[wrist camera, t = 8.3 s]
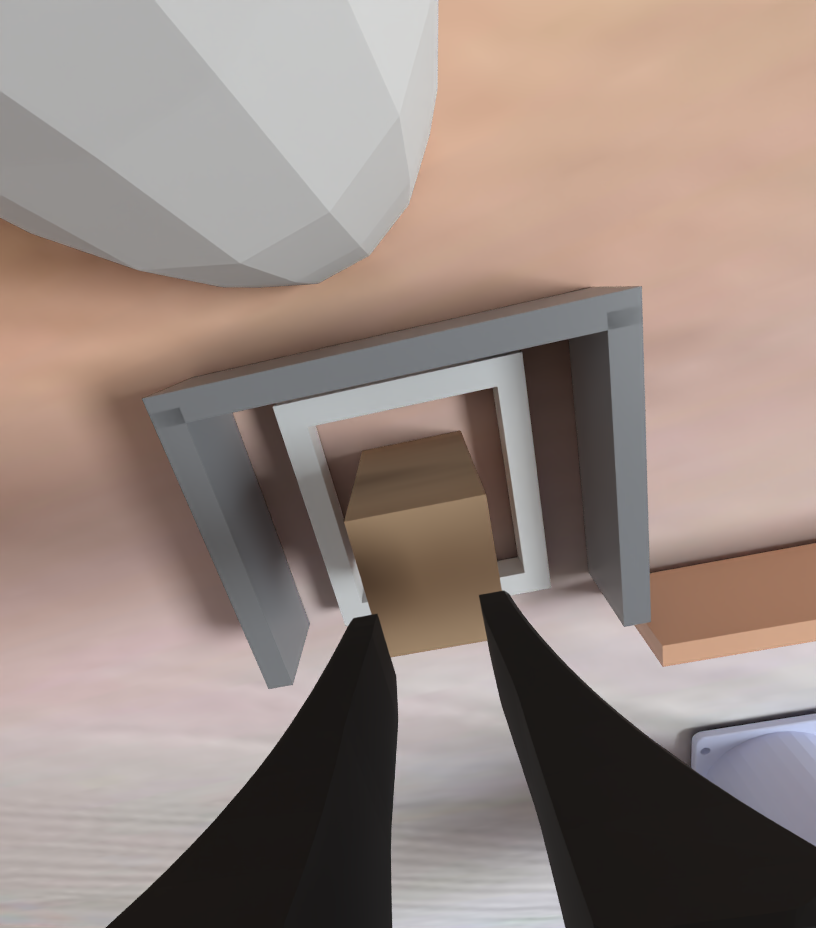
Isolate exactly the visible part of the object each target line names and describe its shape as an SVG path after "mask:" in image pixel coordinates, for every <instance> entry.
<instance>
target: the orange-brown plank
mask: <svg viewBox="0 0 816 928" xmlns="http://www.w3.org/2000/svg"><path fill="white" fill-rule="evenodd" d="M650 602H651V622H649V623H643V624H637V625H635V627H636V628H637V630H638V631H639V633H640V634H641V636H642V637H643V638H644V640H645V641H646V643H647V644H648V646H649V647H650V649H651V650H652V652H653V653H654V654H655V656H656V657H657V659H658V660H659V662H660V663H661V665H662V666H663V667H664V666H670V665H676V664H682V663H688V662H694V661H700V660H706V659H712V658H718V657H724V656H730V655H736V654H742V653H747V652H753V651H759V650H765V649H771V648H777V647H783V646H789V645H795V644H801V643H807V642H813V641H816V543H813V544H808V545H802V546H797V547H791V548H786V549H780V550H775V551H769V552H764V553H758V554H753V555H748V556H742V557H737V558H731V559H726V560H720V561H715V562H709V563H704V564H698V565H693V566H687V567H682V568H676V569H671V570H665V571H660V572H654V573H650Z"/></svg>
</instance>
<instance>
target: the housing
mask: <svg viewBox="0 0 816 928" xmlns="http://www.w3.org/2000/svg"><path fill="white" fill-rule="evenodd" d="M566 339H569V349H570V360H571V372H572V384H573V395H574V407H575V419H576V430H577V442H578V454H579V465H580V477H581V489H582V500H583V512H584V524H585V535H586V547H587V559H588V570H589V574H590V575H591V577H592V578H593V580H594V581H595V583H596V584H597V586H598V588H599V589H600V591H601V592H602V594H603V595H604V597H605V598H606V600H607V601H608V603H609V604H610V606H611V607H612V609H613V610H614V612H615V614H616V615H617V617H618V618H619V620H620V621H621V623H622V624H623V626H624V627H626V626H631V625H637V624H643V623H649V622H651V602H650V567H649V531H648V495H647V459H646V424H645V388H644V352H643V317H642V286H625V287H590V288H586V289H582V290H577V291H573V292H568V293H564V294H559V295H555V296H551V297H546V298H542V299H537V300H533V301H529V302H524V303H520V304H515V305H511V306H506V307H502V308H498V309H493V310H489V311H484V312H480V313H476V314H471V315H467V316H462V317H458V318H453V319H449V320H445V321H440V322H436V323H431V324H427V325H423V326H418V327H414V328H409V329H405V330H400V331H396V332H392V333H387V334H383V335H378V336H374V337H370V338H365V339H361V340H356V341H352V342H347V343H343V344H339V345H334V346H330V347H325V348H321V349H317V350H312V351H308V352H303V353H299V354H294V355H290V356H286V357H281V358H277V359H272V360H268V361H264V362H259V363H255V364H250V365H246V366H242V367H237V368H233V369H228V370H224V371H219V372H215V373H211V374H206V375H202V376H197V377H193V378H190V379H188V380H185V381H183V382H181V383H178V384H176V385H173V386H171V387H169V388H166V389H164V390H162V391H159V392H157V393H154V394H152V395H150V396H147V397H145V398H142V400H143V402H144V405H145V407H146V409H147V411H148V414H149V416H150V418H151V421H152V423H153V425H154V427H155V430H156V432H157V434H158V437H159V439H160V441H161V443H162V446H163V448H164V450H165V453H166V455H167V457H168V459H169V462H170V464H171V466H172V469H173V471H174V473H175V476H176V478H177V480H178V482H179V485H180V487H181V489H182V492H183V494H184V496H185V498H186V501H187V503H188V505H189V508H190V510H191V512H192V514H193V517H194V519H195V521H196V524H197V526H198V528H199V531H200V533H201V535H202V537H203V540H204V542H205V544H206V547H207V549H208V551H209V553H210V556H211V558H212V560H213V563H214V565H215V567H216V569H217V572H218V574H219V576H220V579H221V581H222V583H223V586H224V588H225V590H226V592H227V595H228V597H229V599H230V602H231V604H232V606H233V608H234V611H235V613H236V615H237V618H238V620H239V622H240V624H241V627H242V629H243V631H244V634H245V636H246V638H247V640H248V643H249V645H250V647H251V650H252V652H253V654H254V657H255V659H256V661H257V663H258V666H259V668H260V670H261V673H262V675H263V677H264V679H265V682H266V684H267V686H268V689H272V688H277V687H283V686H289V685H293V682H294V679H295V675H296V672H297V668H298V665H299V661H300V657H301V654H302V650H303V647H304V643H305V639H306V636H307V632H308V629H309V625H310V623H309V620H308V617H307V615H306V612H305V609H304V607H303V604H302V601H301V598H300V596H299V593H298V590H297V588H296V585H295V582H294V579H293V577H292V574H291V571H290V568H289V566H288V563H287V560H286V558H285V555H284V552H283V549H282V547H281V544H280V541H279V539H278V536H277V533H276V530H275V528H274V525H273V522H272V519H271V517H270V514H269V511H268V509H267V506H266V503H265V500H264V498H263V495H262V492H261V490H260V487H259V484H258V481H257V479H256V476H255V473H254V470H253V468H252V465H251V462H250V460H249V457H248V454H247V451H246V449H245V446H244V443H243V441H242V438H241V435H240V432H239V430H238V427H237V424H236V421H235V419H234V416H233V412H238V411H242V410H247V409H251V408H256V407H261V406H265V405H270V404H274V403H276V404H275V405H274V406H273V410H274V413H275V416H276V419H277V422H278V425H279V428H280V431H281V434H282V437H283V440H284V443H285V446H286V449H287V452H288V455H289V458H290V461H291V464H292V467H293V470H294V473H295V476H296V479H297V482H298V485H299V488H300V491H301V494H302V497H303V500H304V503H305V506H306V509H307V512H308V515H309V518H310V521H311V524H312V527H313V530H314V533H315V536H316V539H317V542H318V545H319V548H320V551H321V554H322V557H323V560H324V563H325V566H326V569H327V572H328V575H329V578H330V581H331V584H332V587H333V590H334V593H335V596H336V599H337V602H338V605H339V608H340V611H341V614H342V617H343V620H344V623H345V626H347V625H349V624H350V622H351V621H352V619H353V618H356V617H362V616H367V615H371V611H370V608H369V604H368V601H367V598H366V594H365V591H364V588H363V584H362V581H361V577H360V574H359V571H358V567H357V564H356V561H355V557H354V554H353V551H352V547H351V544H350V540H349V537H348V534H347V530H346V527H345V524H344V518H343V514H342V511H341V508H340V504H339V501H338V498H337V494H336V491H335V488H334V484H333V481H332V478H331V475H330V471H329V468H328V465H327V461H326V458H325V455H324V451H323V448H322V445H321V441H320V438H319V435H318V431H317V428H316V425H320V424H325V423H330V422H334V421H339V420H344V419H348V418H353V417H358V416H362V415H367V414H372V413H376V412H381V411H386V410H390V409H395V408H400V407H404V406H409V405H414V404H418V403H423V402H428V401H432V400H437V399H442V398H446V397H451V396H456V395H460V394H465V393H469V392H474V391H479V390H483V389H488V388H493V394H494V400H495V407H496V414H497V420H498V427H499V434H500V440H501V447H502V454H503V460H504V467H505V474H506V480H507V487H508V494H509V500H510V507H511V513H512V520H513V527H514V533H515V540H516V547H517V553H518V557H516V558H510V559H505V560H500V561H497V564H498V570H499V576H500V582H501V588H502V591H503V590H504V591H506V592H507V593H509V594H510V596H511V595H516V594H522V593H527V592H532V591H538V590H543V589H549V588H551V582H550V574H549V566H548V558H547V550H546V542H545V534H544V525H543V517H542V509H541V501H540V493H539V485H538V477H537V468H536V460H535V452H534V444H533V436H532V428H531V420H530V412H529V403H528V395H527V387H526V379H525V371H524V363H523V355H522V352H521V351H519V350H520V349H525V348H529V347H534V346H538V345H543V344H547V343H552V342H557V341H561V340H566Z"/></svg>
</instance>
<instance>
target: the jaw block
mask: <svg viewBox="0 0 816 928" xmlns="http://www.w3.org/2000/svg"><path fill="white" fill-rule="evenodd" d="M344 524H345V527H346V530H347V534H348V537H349V540H350V544H351V547H352V551H353V554H354V557H355V561H356V564H357V567H358V571H359V574H360V577H361V581H362V584H363V588H364V591H365V594H366V598H367V601H368V604H369V608H370V611H371V615H373V614H378V617H379V620H380V624H381V627H382V631H383V634H384V637H385V641H386V644H387V647H388V651H389V654H390V657H395V656H401V655H407V654H413V653H418V652H424V651H430V650H436V649H442V648H447V647H453V646H459V645H465V644H471V643H476V642H482V641H487V636H486V631H485V626H484V620H483V615H482V610H481V605H480V600H479V595H481V594H487V593H492V592H498V591H502V588H501V582H500V576H499V570H498V564H497V558H496V552H495V546H494V540H493V534H492V528H491V522H490V515H489V509H488V503H487V497H486V493H485V491H484V488H483V486H482V483H481V481H480V478H479V476H478V473H477V471H476V468H475V466H474V463H473V461H472V458H471V456H470V453H469V451H468V448H467V446H466V443H465V441H464V438H463V436H462V433H461V431H457V432H452V433H447V434H442V435H437V436H432V437H427V438H422V439H418V440H413V441H408V442H403V443H398V444H393V445H388V446H383V447H378V448H374V449H369V450H364V451H362V454H361V458H360V462H359V466H358V469H357V473H356V477H355V481H354V485H353V489H352V493H351V497H350V501H349V505H348V508H347V512H346V516H345V520H344Z"/></svg>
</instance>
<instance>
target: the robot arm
mask: <svg viewBox="0 0 816 928" xmlns="http://www.w3.org/2000/svg"><path fill="white" fill-rule="evenodd" d="M479 600H480V605H481V610H482V615H483V620H484V626H485V631H486V636H487V641H488V646H489V651H490V656H491V661H492V666H493V670H494V675H495V679H496V683H497V688H498V692H499V697H500V701H501V704H502V708H503V711H504V714H505V717H506V720H507V723H508V726H509V729H510V732H511V735H512V738H513V741H514V744H515V747H516V750H517V753H518V757H519V760H520V763H521V766H522V769H523V772H524V775H525V778H526V781H527V784H528V787H529V790H530V793H531V796H532V799H533V802H534V805H535V809H536V812H537V816H538V819H539V823H540V826H541V830H542V834H543V838H544V842H545V846H546V850H547V854H548V858H549V862H550V866H551V870H552V874H553V878H554V882H555V886H556V890H557V895H558V899H559V903H560V907H561V911H562V915H563V919H564V923H565V927H566V928H816V713H815V714H808V715H802V716H796V717H789V718H783V719H777V720H770V721H764V722H758V723H751V724H745V725H739V726H732V727H726V728H720V729H713V730H707V731H701V732H698V733H696V734H695V735H694V736H693V737H692V756H691V767H689V766H688V765H686V764H685V763H684V762H682V761H681V760H680V759H678V758H677V757H675V756H674V755H673V754H671V753H670V752H669V751H667V750H666V749H664V748H663V747H662V746H660V745H659V744H658V743H656V742H655V741H653V740H652V739H651V738H649V737H648V736H647V735H645V734H644V733H643V732H642V731H640V730H639V729H638V728H637V727H635V726H634V725H633V724H632V723H630V722H629V721H628V720H627V719H625V718H624V717H623V716H622V715H621V714H619V713H618V712H617V711H616V710H615V709H614V708H612V707H611V706H610V705H609V704H608V703H607V702H605V701H604V700H603V699H602V698H601V697H600V696H599V695H598V694H596V693H595V692H594V691H593V690H592V689H591V688H590V687H589V686H588V685H587V684H586V683H585V682H584V681H583V680H582V679H581V678H580V677H578V676H577V675H576V674H575V673H574V672H573V671H572V670H571V669H570V668H569V667H568V666H567V665H566V664H565V662H564V661H563V660H562V659H561V658H560V657H559V656H558V655H557V654H556V653H555V652H554V651H553V650H552V649H551V647H550V646H549V645H548V644H547V643H546V642H545V641H544V640H543V638H542V637H541V636H540V635H539V634H538V633H537V631H536V630H535V629H534V628H533V627H532V625H531V624H530V623H529V622H528V620H527V619H526V618H525V617H524V615H523V614H522V613H521V611H520V610H519V608H518V607H517V606H516V604H515V603H514V601H513V599H512V598H511V596H510V594H509V593H507V592H506V591H504V590H503V591H498V592H492V593H487V594H481V595H479ZM397 732H398V702H397V682H396V674H395V671H394V668H393V664H392V661H391V657H390V654H389V651H388V647H387V644H386V641H385V637H384V634H383V631H382V627H381V624H380V620H379V617H378V614H373V615H367V616H362V617H356V618H353V619H352V621H351V622H350V624H349V625H348V627H347V629H346V631H345V633H344V635H343V637H342V639H341V641H340V643H339V644H338V646H337V648H336V650H335V652H334V654H333V656H332V657H331V659H330V661H329V663H328V665H327V666H326V668H325V670H324V671H323V673H322V675H321V677H320V678H319V680H318V682H317V683H316V685H315V687H314V689H313V690H312V692H311V694H310V695H309V697H308V698H307V700H306V701H305V703H304V704H303V706H302V708H301V709H300V711H299V712H298V714H297V715H296V717H295V718H294V720H293V721H292V723H291V724H290V726H289V727H288V729H287V730H286V732H285V733H284V735H283V736H282V737H281V739H280V740H279V742H278V743H277V744H276V746H275V747H274V749H273V750H272V751H271V753H270V754H269V755H268V757H267V758H266V759H265V761H264V762H263V763H262V765H261V766H260V767H259V768H258V770H257V771H256V772H255V774H254V775H253V776H252V777H251V778H250V780H249V781H248V782H247V783H246V784H245V786H244V787H243V788H242V789H241V790H240V792H239V793H238V794H237V795H236V796H235V797H234V799H233V800H232V801H231V802H230V803H229V804H228V806H227V807H226V808H225V809H224V810H223V811H222V812H221V814H220V815H219V816H218V817H217V818H216V819H215V821H214V822H213V823H212V824H211V825H210V826H209V827H208V828H207V829H206V830H205V831H204V832H203V833H202V835H201V836H200V837H199V838H198V839H197V840H196V841H195V842H194V843H193V844H192V845H191V846H190V847H189V848H188V849H187V850H186V851H185V852H184V853H183V854H182V855H181V856H180V857H179V858H178V859H177V860H176V861H175V862H174V863H173V864H172V865H171V866H170V868H169V869H168V870H167V871H166V872H165V873H164V874H163V875H161V876H160V877H159V878H158V879H157V880H156V881H155V882H154V883H153V884H152V885H151V886H150V887H149V888H148V889H147V890H146V891H145V892H144V893H143V894H142V895H141V896H139V897H138V898H137V899H136V900H135V901H134V902H133V903H132V904H131V905H130V906H129V907H128V908H126V909H125V910H124V911H123V912H122V913H121V914H120V915H119V916H118V917H117V918H116V919H115V920H113V921H112V922H111V923H110V924H109V925H108V926H107V927H106V928H392V897H391V825H392V810H393V795H394V779H395V764H396V748H397Z"/></svg>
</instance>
